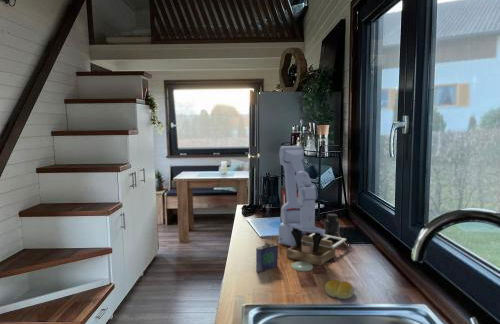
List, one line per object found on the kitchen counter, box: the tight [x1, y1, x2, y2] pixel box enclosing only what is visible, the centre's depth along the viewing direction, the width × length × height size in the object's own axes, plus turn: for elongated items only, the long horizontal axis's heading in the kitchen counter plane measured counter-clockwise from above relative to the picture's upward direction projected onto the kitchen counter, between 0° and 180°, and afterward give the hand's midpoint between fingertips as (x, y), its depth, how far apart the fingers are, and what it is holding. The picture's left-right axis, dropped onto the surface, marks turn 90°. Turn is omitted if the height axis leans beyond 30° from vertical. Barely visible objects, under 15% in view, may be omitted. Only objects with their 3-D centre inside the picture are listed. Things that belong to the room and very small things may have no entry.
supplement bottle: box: [323, 213, 341, 243], centre depth 167 cm, size 7×7×12 cm
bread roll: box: [324, 279, 355, 300], centre depth 116 cm, size 8×9×4 cm
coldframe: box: [286, 241, 336, 267], centre depth 146 cm, size 15×13×4 cm
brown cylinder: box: [301, 243, 313, 255], centre depth 144 cm, size 4×4×6 cm
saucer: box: [291, 261, 314, 272], centre depth 136 cm, size 8×8×1 cm
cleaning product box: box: [279, 184, 299, 223], centre depth 190 cm, size 16×9×20 cm, turn 6°
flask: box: [255, 240, 279, 273], centre depth 134 cm, size 9×3×11 cm, turn 121°
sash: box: [301, 233, 347, 249], centre depth 155 cm, size 15×13×3 cm
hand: (307, 249), depth 144 cm, fingers open, 7 cm apart
